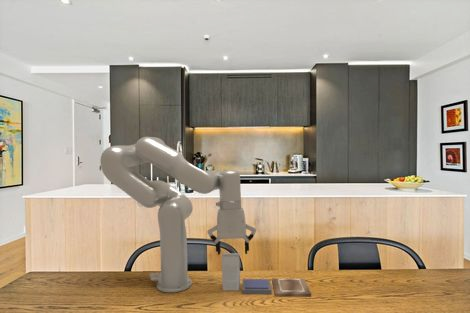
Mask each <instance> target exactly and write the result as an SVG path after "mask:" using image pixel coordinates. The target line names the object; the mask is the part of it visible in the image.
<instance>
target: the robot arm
mask: <svg viewBox="0 0 470 313" xmlns="http://www.w3.org/2000/svg"><path fill="white" fill-rule="evenodd" d="M99 161H100V163H99V164H100V167H101V171H102V173H103V175H104V176H105V178H106V179H107V180H108V181H109V182H110V183H111V184H113V185H114V186H116V187H117V188H118V189H120V190H121V191H122V192H124V193H125V194H127V196H130V197H131V198H132V199H133V200H135V201H136V202H137V203H138V204H140V205H141V206H143V207H144V208H147V209H152V208H155V207H157V206H159V209H158V211H157V222H158V227H159V228H158V229H159V244H160V245H159V246H160V247H159V248H160V249H159V250H160V272H158V273H157V272H151V273H150V274H149V279H150V281H152V282H155V281H157V282H156V288H157V290H159V291H160V292H163V293H179V292H182V291H186V290H187V289H189V288H190V287H191V286H192V285H193V280H192V279H191V278H190V277H189V276H188V244H187V243H188V241H187V240H188V238H187V237H188V236H187V235H188V234H187V229H186V228H187V227H186V223H185V221H186V220H187V219H188V218H189V217H190V216H191V215H192V212H193V208H194V207H193V203H192V201H191V200H190V199H189V197H187V196H186V194H183V193H182V192H180V191H179V190H178V189H176V188H175V187H174V186H172V185H171V184H169V183H167V181H166V182H165V181H163V180H158V179H157V180H156V179H155V180H149V179H148V178H146V177H145V176H143V175H142V174H140V173H139V172H138V171H136V170H134V169H132V167H136V166H140V165H143V164H146V163H149V164H151V165H153V166H155V167H157V168H158V169H160V170H163V171H164V172H166V173H167V174H169V175H170V176H171V177H172V178H174V179H175V180H176V181H178V182H179V184H182V185H183V186H185V187H187V188H189V189H191V190H192V191H194V192H197V193H198V194H201V195H203V194H204V195H207V194H209V193H212V192H214V191H216V190H219V192H218V193H219V201H218V202H215V207H219V209H218V210H217V215H216V216H217V217H216V225H214V226H213V227H211V228H209V229H207V234H208V236H209V238H210V239H211V240H212V241H213V243H215V252H216V253H217V255H218V256H219V255H221V253H222V252H221V250H222V249H221V240H229V239H232V240H235V239H243V240H244V254H245V255H248V252H249V251H250V241H251V240H252V239H253V238H254V237H255V235H256V233H257V229H256V227H253V226H251V225H249V224H247V223H246V216H245V215H246V214H245V211H244V208H243V207H242V196H241V194H242V193H241V192H242V191H241V190H242V188H241V174H240V171H238V170H233V169H230V170H229V169H228V170H213V169H212V170H210V169H209V170H208V169H207V170H203V169H201V168H198V167H197V166H195V165H194V164H192V163H190V162H189V161H188V160H186V159H185V158H184V155H183V154H182V153H181V152H180V151H178V150H177V149H174V148H172V147H171V146H168V145H167V144H166V143H165V142H164V141H163V140H162V139H161V138H160V137H157V136H156V137H155V136H144V137H141V138H139V139H138V140H137V141H136V143H134V144H130V145H121V144H120V145H119V144H118V145H111V146H109V147H106V149H105V150H103V152H102V153H101V156H100V160H99ZM247 230H248V231H249V232H250V234H249V235H247ZM215 231H216V235H217V236H216V235H214V233H213V232H215Z"/></svg>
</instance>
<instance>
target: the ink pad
mask: <svg viewBox="0 0 470 313" xmlns="http://www.w3.org/2000/svg"><path fill="white" fill-rule="evenodd" d="M241 286H242V287H241V291H242V295H272V294H273V292H272V282H271V279H269V278H242V285H241Z"/></svg>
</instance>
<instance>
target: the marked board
mask: <svg viewBox="0 0 470 313" xmlns="http://www.w3.org/2000/svg"><path fill="white" fill-rule="evenodd" d="M271 281H272V282H271V283H272V286H273V292H274V297H296V298H297V297H298V298H299V297H304V298H305V297H306V298H307V297H312V292H311V290H310V287H309V286H308V283H307V281H306V278H272V280H271Z"/></svg>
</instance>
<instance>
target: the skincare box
mask: <svg viewBox="0 0 470 313" xmlns="http://www.w3.org/2000/svg"><path fill="white" fill-rule="evenodd" d="M240 272H241V270H240V253H238V252H237V253H236V252H234V253H233V252H232V253H231V252H230V253H229V252H228V253H227V252H223V253H222V255H221V278H222V279H221V280H222V291H234V292H235V291H237V292H238V291H239V292H240V289H241V288H240V287H241V275H240V274H241V273H240Z"/></svg>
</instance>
